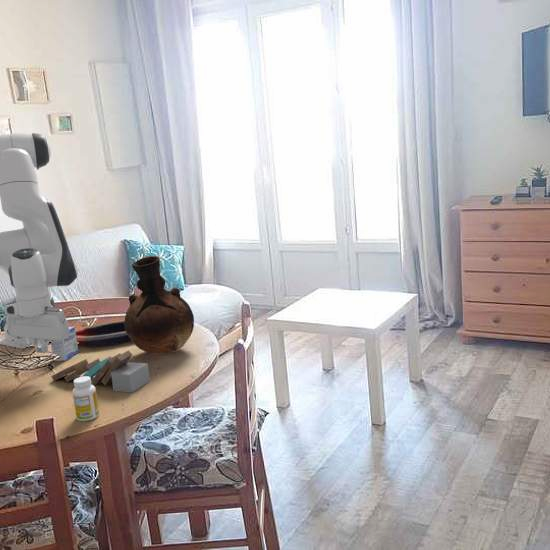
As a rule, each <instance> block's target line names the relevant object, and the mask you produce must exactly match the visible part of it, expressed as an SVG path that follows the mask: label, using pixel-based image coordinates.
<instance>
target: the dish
mask: <svg viewBox="0 0 550 550" xmlns="http://www.w3.org/2000/svg"><path fill="white" fill-rule="evenodd" d="M124 321H125V320H122V321H114V322H106V323H102V324H96V325H91V326H86V327H82V328H79V329H77V330H76V329H75V334H76V340H77V342H79V344H78V345H77V346H78V348H97V347H98V348H99V347H106V346H112V345H113V346H114V345H118V344H124V343H130V342H132V340H131V339H130V338H129V336H128V335H127V333H126V330H125V327H124Z"/></svg>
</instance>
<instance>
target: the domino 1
mask: <svg viewBox="0 0 550 550" xmlns="http://www.w3.org/2000/svg"><path fill="white" fill-rule="evenodd" d="M87 364H89V362H88V359H87V358H86V359H84V360H81V361H79V362H76V363H75V364H73V365H70V366H68V367H66V368H64V369H62V370H60V371H58V372H55V374H53V375H51V376H50V377H51V378H52V381H53V382H55V381H57V380H59V379H61V378H64V377H66V376H68V375H70V374H71V373H73V372H75V371H77V370H78V369H80V368H82V367H84V366H85V365H87Z"/></svg>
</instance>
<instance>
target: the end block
mask: <svg viewBox="0 0 550 550" xmlns="http://www.w3.org/2000/svg"><path fill="white" fill-rule="evenodd" d="M111 376H112V387H113V389H112V390H113V391H115V392H121V393H122V392H123V393H133V392H136V391H137V390H138V389H140V388H141V387H143V386H144V385H147V383H150V382H151V380H150V372H149V365H148V363H144V362H142V363H141V362H132V361H130V362H129V361H128V362H127V364H126V365H124V366H122V367H120V368H119V369H117V370H115V371H113V372H112V373H111ZM142 385H143V386H142Z"/></svg>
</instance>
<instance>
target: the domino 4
mask: <svg viewBox="0 0 550 550" xmlns="http://www.w3.org/2000/svg"><path fill="white" fill-rule="evenodd" d="M121 354H122V353H118V354H116V355H114V356H112V357H111V358H110V359H108V360H107V362H106V363H105V364H104V366H103V367H102V368H101V369H100V371H99V372H98V373H97V374H96V375H95V376H94V377H93V378H91V384H92V385H93V386H94V387H95V386H97V385H98V384H100V383H102V382H101V381H102V379H103V378H104V376H105V375H106V373H107V372H108V370H109V368H110V367H111V365H112V364H113V362H114V360H115V359H116V357H117V356H119V355H121Z"/></svg>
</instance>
